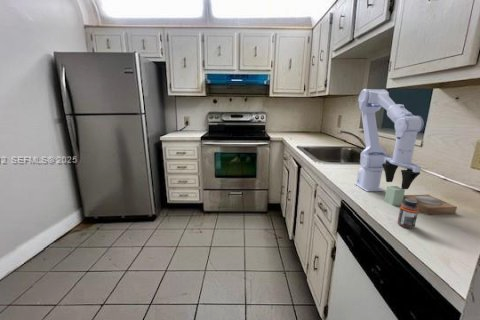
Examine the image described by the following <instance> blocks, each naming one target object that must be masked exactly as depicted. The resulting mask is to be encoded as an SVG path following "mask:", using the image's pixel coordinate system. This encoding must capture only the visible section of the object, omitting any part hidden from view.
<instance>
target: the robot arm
mask: <svg viewBox="0 0 480 320" xmlns="http://www.w3.org/2000/svg"><path fill="white" fill-rule="evenodd" d="M358 106H359V111H360V112H361V120H362V121H361V122H362V128H363V135H364V141H365V142H364V143H365V148H364V149H363V150H362V151H361V152H360V159H359V163H360V168H358V169H359V170H358V171H357V176H356V182H355V183H353V184H354V185H355V186H357V187H359V188H360V189H362V190H364V191H366V192H384V191H385V189H383V188H380V184H381V180H382V174H383V171H384V176H385V182H386V183H393V181H394V178H395V174H396V171H397V169H398V167H400V168H403V169H401V172H400V173H401V177H402V178H401V179H402V180H401V187H400V188H402V189H404V190H409V188H410V187H411V184H412V183H413V181H414V180H416V178H417V177H418V176H419V175H421V168H422V166H419V165H417V164H415V163H413V162H412V159H413V154H414V149H415V146H416V145H415V144H416V139H417V136H418V133H419V132H421V131H422V129H423V128H424V119H423V117H422V116H421V115H414V114H413V113H412V112H411V111H409V110H407V108H405V105H404V104H400V103H396V102H395V101H394V100H393V99H392V98H391V97H390V94H389V91H387V89H368V88H363V89H362V90H361V91H360V93H359V96H358ZM381 108H383V109H385V111H386V115H387V118H389V119H390V120H391V122H392V123H394V131H395V137H396V139H395V143H394V149H393V154H392V157H390V156H388V154H387V151H386V150H385V149H384V148H383V147H381V145H380V139H379V132H378V131H379V130H378V126H377V118H376V112H379V111H380V109H381Z"/></svg>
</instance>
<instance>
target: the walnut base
mask: <svg viewBox="0 0 480 320" xmlns="http://www.w3.org/2000/svg"><path fill="white" fill-rule="evenodd" d="M405 199H413V200H415V201H417V205H416V206H417V207H418V208H419V210H418V212H421V213H424V214H425V215H426V216H427V215H450V214H456V213H457V209H458V208H457V207H458V206H455V205H454V204H451V203H449V202H446V201H444V200H442V199H440V198H437V197H435V196H432V195H431V194H404V197H403V202H402V203H404V202H405Z"/></svg>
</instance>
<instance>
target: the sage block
mask: <svg viewBox="0 0 480 320" xmlns="http://www.w3.org/2000/svg"><path fill="white" fill-rule="evenodd" d="M405 191H406V189H402V187H399V186H397V185H395V186H393V185H389V186H388V185H387V186H386V190H385V196H384V201H385V203H387V204H389V205H391V206H401V204H403V203H404V202H403V197H404V195H405Z"/></svg>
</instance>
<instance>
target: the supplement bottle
mask: <svg viewBox="0 0 480 320" xmlns="http://www.w3.org/2000/svg"><path fill="white" fill-rule="evenodd" d="M416 205H417V201H415V200H413V199H405V202H402V204H401V205H400V208H399V214H398V218H397V224H398V225H399V226H401V227H402V228H405V229H414V228H415V226H416V223H417V218H418V214H419V208H418V207H417V206H416Z"/></svg>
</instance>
